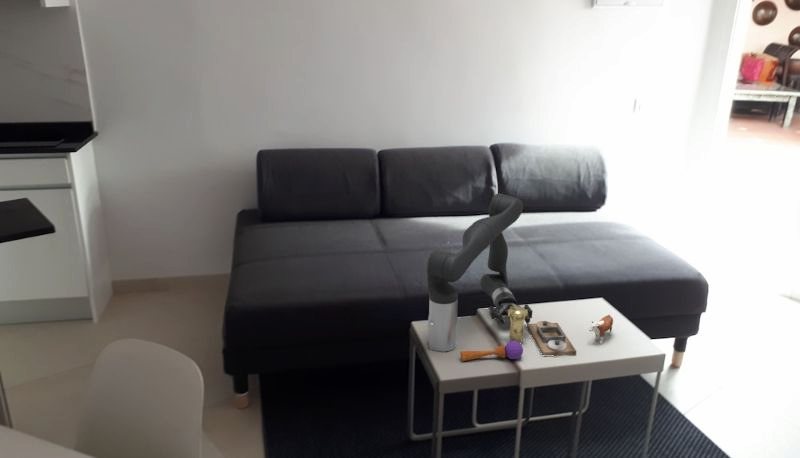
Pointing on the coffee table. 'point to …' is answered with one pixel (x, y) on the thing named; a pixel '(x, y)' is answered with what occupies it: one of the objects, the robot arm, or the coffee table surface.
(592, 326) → the bull figurine
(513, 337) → the brass pinion
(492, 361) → the coffee table surface
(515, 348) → the kendama
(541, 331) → the board
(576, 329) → the coffee table surface
